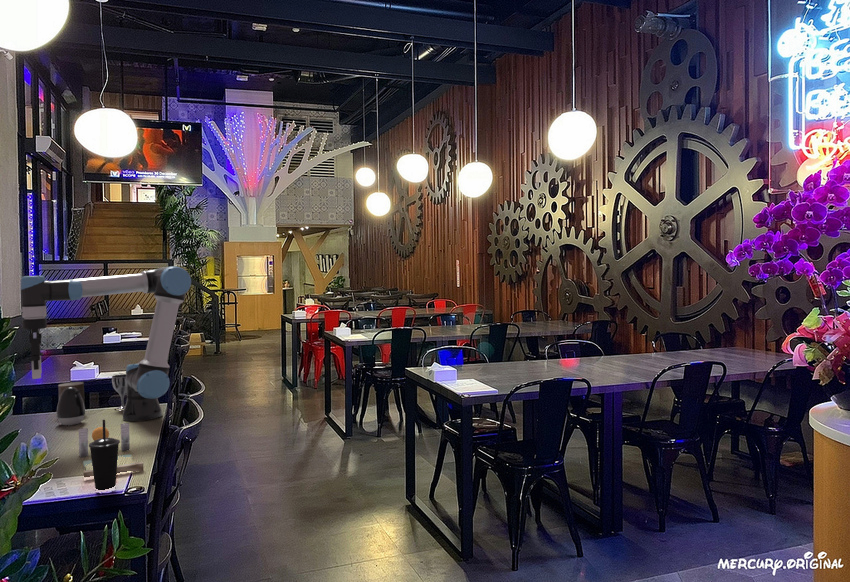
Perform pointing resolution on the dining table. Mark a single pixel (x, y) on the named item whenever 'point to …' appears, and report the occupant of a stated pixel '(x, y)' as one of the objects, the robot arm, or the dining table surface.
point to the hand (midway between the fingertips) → (37, 376)
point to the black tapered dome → (70, 407)
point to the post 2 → (125, 437)
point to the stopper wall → (120, 468)
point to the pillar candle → (73, 384)
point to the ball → (99, 433)
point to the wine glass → (120, 386)
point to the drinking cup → (104, 461)
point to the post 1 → (83, 442)
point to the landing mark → (91, 460)
